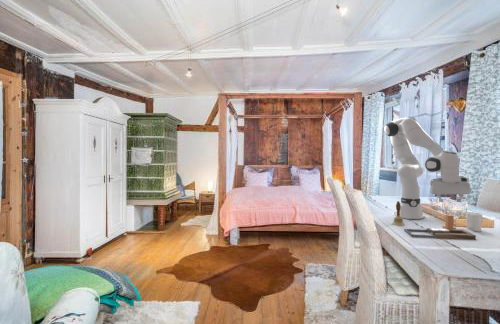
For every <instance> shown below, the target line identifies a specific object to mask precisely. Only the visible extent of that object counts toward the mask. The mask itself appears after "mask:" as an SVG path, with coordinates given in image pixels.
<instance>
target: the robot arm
mask: <svg viewBox="0 0 500 324" xmlns="http://www.w3.org/2000/svg"><path fill="white" fill-rule="evenodd" d="M383 132H384V133H385V135H386V136H387V137H390V143H391V146H392V149H393V151H394V155H395V158H396V159H397V160H398V161H399V163H400V164H401V165H400V166H399V167H398V168H397V176H398V177H399V179H400V184H401V197H400V206H401V208H400V217H401V218H402V219H405V220H407V219H409V220H421V219H424V218H426V216H425V215H424V213H423V212H424V211H423V210H424V209H423V206H422V205H421V198H420V196H421V195H420V189H421V188H420V185H419V183H418V178H419V177H421V176H422V175H423V174H424V167H425V169H426V170H427V172H429V173H440V178H432V179H431V180H430V181H429V182H430V183H429V184H430V187H429V193H430V194H431V195H436V197H437V199H438V202H439V203H443V202H444V199H443V198H441V196H442V195H458V196H459V197H458V198H456V202H457V203H461V202H462V198H463V197H464V195H470V194H471V189H472V188H471V184H470V179H469V177H466V176H465V177H464V176H462V175H460V172H459V167H460V161H459V159H460V158H459V155H458V153H457V152H456V151H451V150H444V149H443V148H442V147H441V146H440V145H439V143H437V141H436V140H434V139H433V137H431V136H430V135H429V134H428V133H427V132H426V131H425V130H424V129H423V127H422V126H421V125H420V124H419V123H418V121H417V119H416V118H415V117H413V116H407V117H401V118H398V119H394V120H392V121H388V122H387V123H385V124H384V127H383ZM411 145H413V146H416V147H420V148H424V149H426V150H428V151H429V152H430V153H431V154H432V156H431V157H427V158H426V160H425V161H424V167H423V166H422V165H421V164H420V162H419V160H418V159H417V157H416V156H415V154H414V152H413V149H412V146H411ZM395 210H396V211H394V214H395V217H397V209H395Z"/></svg>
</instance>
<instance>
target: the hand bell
mask: <svg viewBox="0 0 500 324" xmlns="http://www.w3.org/2000/svg"><path fill="white" fill-rule="evenodd" d="M400 203H401V201H399V200H397V201H396V205H395V208H396V209H397V210H396V209H395V210H396V212H397V217H396V216H395V217H394V218H393V219H394V220H393V222H392V223H391V225H392V226H394V225H395V226H405V223H404V222H403V221H404V220H403V218H401V217H400V208H401V206H400ZM391 225H390V226H391Z"/></svg>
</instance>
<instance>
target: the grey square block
mask: <svg viewBox="0 0 500 324" xmlns="http://www.w3.org/2000/svg"><path fill="white" fill-rule="evenodd" d="M429 228H430V234H429V235H434V233H441V230H439V229H440V228H436V229H434V228H432V227H429Z"/></svg>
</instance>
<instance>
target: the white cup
mask: <svg viewBox="0 0 500 324" xmlns="http://www.w3.org/2000/svg"><path fill="white" fill-rule="evenodd" d="M465 222H466V229H468V230H471V231H472V232H481V231H482V223H483V213H480V212H475V211H474V212H473V211H472V212H471V211H469V212H467V211H466V212H465Z"/></svg>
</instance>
